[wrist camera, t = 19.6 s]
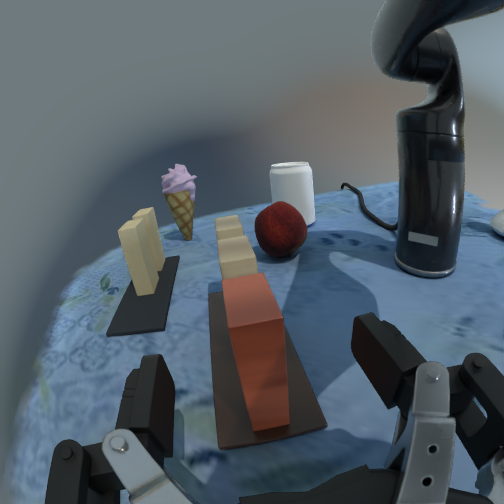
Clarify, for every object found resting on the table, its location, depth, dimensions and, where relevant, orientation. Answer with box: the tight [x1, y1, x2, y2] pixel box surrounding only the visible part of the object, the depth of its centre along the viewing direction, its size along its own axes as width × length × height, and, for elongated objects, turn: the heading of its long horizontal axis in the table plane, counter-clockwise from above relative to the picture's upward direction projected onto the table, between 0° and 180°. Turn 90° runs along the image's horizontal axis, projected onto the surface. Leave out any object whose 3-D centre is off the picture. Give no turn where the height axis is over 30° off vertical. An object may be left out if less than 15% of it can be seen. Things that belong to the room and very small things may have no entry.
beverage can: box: [270, 162, 315, 226], centre depth 52 cm, size 8×8×12 cm
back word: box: [106, 207, 180, 337], centre depth 34 cm, size 20×7×9 cm, turn 9°
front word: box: [209, 215, 327, 450], centre depth 21 cm, size 20×7×9 cm, turn 9°
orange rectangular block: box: [222, 273, 290, 431], centre depth 15 cm, size 4×2×9 cm, turn 9°
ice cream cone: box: [162, 164, 197, 240], centre depth 50 cm, size 7×6×15 cm
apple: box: [255, 201, 307, 257], centre depth 39 cm, size 7×8×8 cm
